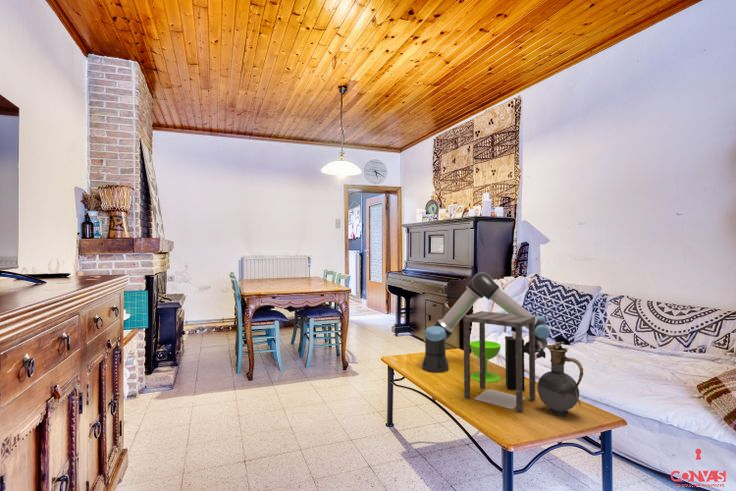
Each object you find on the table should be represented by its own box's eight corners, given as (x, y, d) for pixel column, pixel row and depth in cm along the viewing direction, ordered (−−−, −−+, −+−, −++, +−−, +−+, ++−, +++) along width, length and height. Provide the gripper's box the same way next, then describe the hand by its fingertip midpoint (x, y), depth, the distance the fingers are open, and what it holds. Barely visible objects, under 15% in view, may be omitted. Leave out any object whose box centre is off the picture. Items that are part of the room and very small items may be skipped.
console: (463, 398, 181) (463, 316, 181) (482, 386, 196) (481, 311, 197) (520, 413, 164) (519, 323, 164) (535, 399, 179) (534, 316, 180)
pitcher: (550, 403, 175) (549, 336, 175) (591, 419, 158) (590, 345, 158) (533, 408, 170) (532, 339, 170) (574, 425, 153) (573, 348, 153)
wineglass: (501, 384, 200) (500, 348, 200) (468, 380, 205) (468, 346, 205) (501, 374, 215) (500, 341, 215) (471, 371, 220) (470, 339, 220)
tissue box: (524, 391, 190) (524, 333, 190) (507, 390, 191) (507, 332, 192) (521, 385, 198) (521, 330, 198) (505, 384, 199) (504, 329, 199)
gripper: (557, 357, 207) (546, 367, 191) (510, 350, 223) (496, 358, 207) (557, 343, 208) (545, 351, 191) (510, 337, 224) (496, 344, 207)
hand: (520, 355), depth 199 cm, fingers open, 13 cm apart
